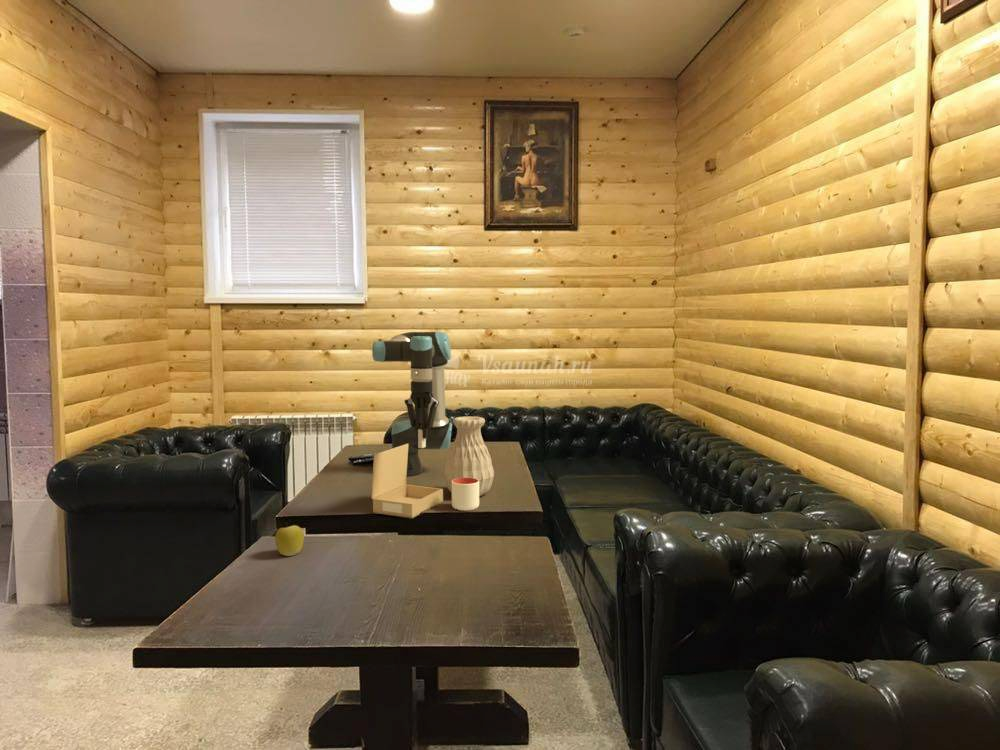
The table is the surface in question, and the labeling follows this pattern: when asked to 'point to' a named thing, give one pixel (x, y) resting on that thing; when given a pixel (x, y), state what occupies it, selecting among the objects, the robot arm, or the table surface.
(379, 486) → the lid
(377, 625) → the table surface
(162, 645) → the table surface
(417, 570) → the table surface
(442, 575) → the table surface
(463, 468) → the vase
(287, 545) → the apple
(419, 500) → the box
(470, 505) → the cup
